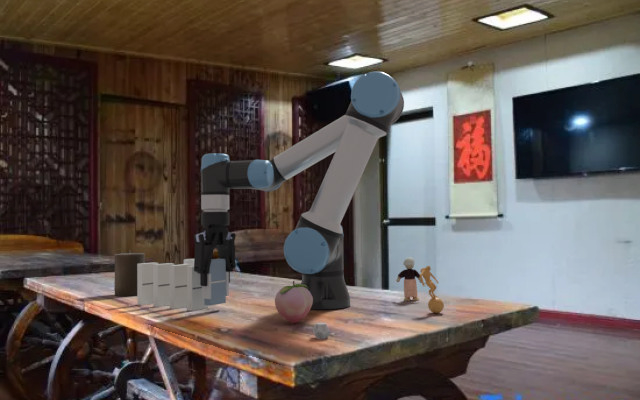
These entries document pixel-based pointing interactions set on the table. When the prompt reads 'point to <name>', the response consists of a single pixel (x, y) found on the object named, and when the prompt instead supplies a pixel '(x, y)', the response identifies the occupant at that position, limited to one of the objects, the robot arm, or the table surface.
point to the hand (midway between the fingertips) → (215, 296)
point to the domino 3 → (178, 286)
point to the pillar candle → (127, 273)
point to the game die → (321, 331)
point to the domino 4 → (194, 291)
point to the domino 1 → (145, 283)
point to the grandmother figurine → (409, 280)
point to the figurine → (431, 291)
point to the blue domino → (217, 282)
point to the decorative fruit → (293, 302)
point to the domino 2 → (161, 284)
